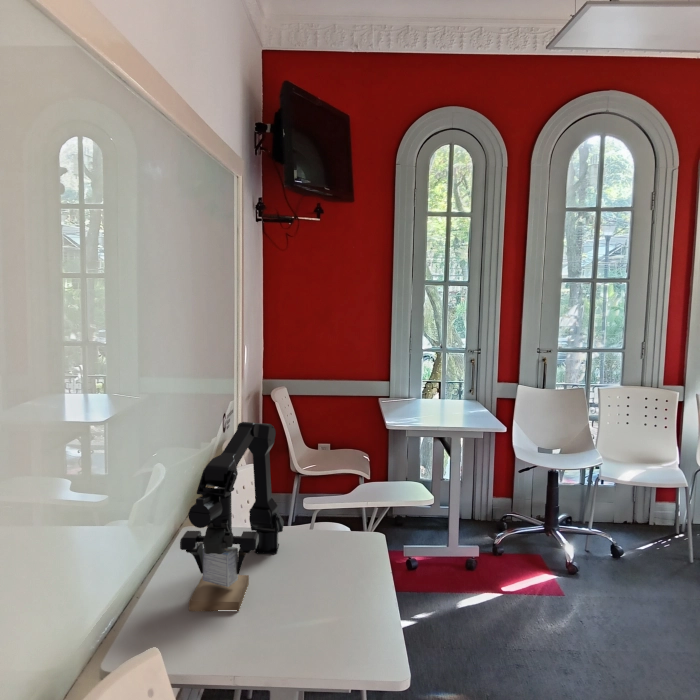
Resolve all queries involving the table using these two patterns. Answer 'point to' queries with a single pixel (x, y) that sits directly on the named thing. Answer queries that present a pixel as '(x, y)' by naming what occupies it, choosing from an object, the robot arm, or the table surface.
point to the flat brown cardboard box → (219, 595)
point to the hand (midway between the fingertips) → (220, 573)
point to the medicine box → (221, 567)
